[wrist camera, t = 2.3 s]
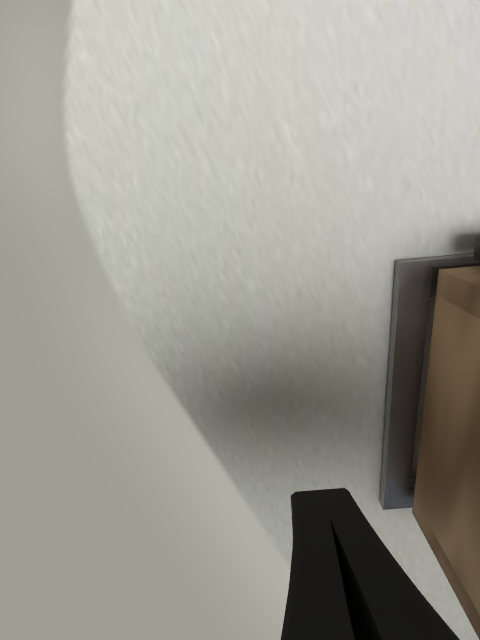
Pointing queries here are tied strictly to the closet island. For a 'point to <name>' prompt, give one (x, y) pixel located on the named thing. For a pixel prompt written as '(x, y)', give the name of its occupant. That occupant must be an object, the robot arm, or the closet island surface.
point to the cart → (453, 436)
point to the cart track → (408, 370)
